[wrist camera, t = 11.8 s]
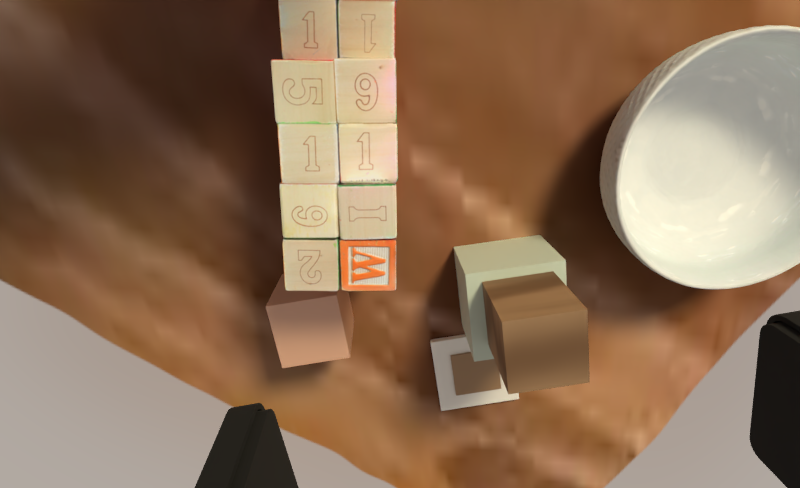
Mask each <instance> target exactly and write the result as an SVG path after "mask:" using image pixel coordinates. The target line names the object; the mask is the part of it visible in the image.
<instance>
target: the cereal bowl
mask: <svg viewBox="0 0 800 488" xmlns="http://www.w3.org/2000/svg"><path fill="white" fill-rule="evenodd" d="M600 190H601V191H600V192H601V197H602V200H603V206H604V208H605V211H606V214H607V218H608V219H609V221H610V223H611V226H612V227H613V229H614V230H615V233H616V234H617V236H618V237H619V239H620V240H621V241H622V243H623V244H624V245H625V246H626V247H627V248H628V250H629V251H630V252H631V253H632V254H633V255H634V256H635V257H636V258H637V259H638V260H640V261H641V262H642V263H643V264H644V265H645V266H647V267H648V268H649V269H651V270H652V271H654V272H656V273H657V274H659V275H661V276H662V277H664V278H666V279H668V280H671V281H673V282H676V283H678V284H681V285H685V286H688V287H692V288H699V289H730V288H738V287H743V286H747V285H751V284H755V283H758V282H761V281H764V280H767V279H769V278H772V277H774V276H776V275H779V274H781V273H783V272H785V271H786V270H788V269H790V268H792V267H794V266H795V265H797V264H799V263H800V28H798V27H792V26H785V25H784V26H770V25H766V26H762V27H752V28H747V29H740V30H736V31H732V32H727V33H725V34H721V35H717V36H714V37H711V38H709V39H707V40H703V41H701V42H698V43H697V44H695V45H691V46H690V47H687V48H686V49H684V50H683V51H680V52H678V53H676V54H675V55H674V56H672V57H670V58H668V59H667V60H666V61H664V62H663V63H662V64H661V65H659V66H658V67H656V68H655V69H654V70H653V71H652V72H651V73H649V74H648V75H647V76H646V77H645V78H644V79H643V80H642V81H641V82H640V84H638V85H637V86H636V87H635V89H634V90H633V91H632V92H631V93H630V95H629V97H628V98H627V99H626V100H625V101H624V103H623V105H622V106H621V108H620V110H619V111H618V113H617V114H616V117H615V119H614V120H613V122H612V125H611V127H610V129H609V132H608V134H607V138H606V140H605V145H604V149H603V152H602V158H601V166H600Z"/></svg>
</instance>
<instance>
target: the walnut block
mask: <svg viewBox="0 0 800 488" xmlns="http://www.w3.org/2000/svg"><path fill="white" fill-rule="evenodd" d="M482 288H483V298H484V307H485V317H486V327H487V337H488V345H489V348H490V350H491V352H492V355H493V357H494V360H495V362H496V365H497V367H498V370H499V372H500V375H501V377H502V380H503V382H504V385H505V387H506V390H507V392H508V394H515V393H522V392H528V391H535V390H542V389H549V388H556V387H562V386H569V385H576V384H583V383H589V382H590V381H589V345H588V310H587V308H586V307H585V306H584V305H583V304H582V303H581V302H580V300H579V299H578V298H577V297H576V296H575V295H574V294H573V293H572V291H571V290H570V289H569V288H568V287H567V286H566V285H565V284H564V283H563V281H562V280H561V279H560V278H559V277H558V276H557V275H556V274H555V273H554V271H551V272H544V273H538V274H531V275H524V276H518V277H511V278H504V279H498V280H491V281H484V282H482Z"/></svg>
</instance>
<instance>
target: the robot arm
mask: <svg viewBox="0 0 800 488" xmlns="http://www.w3.org/2000/svg"><path fill="white" fill-rule="evenodd" d="M750 442H751V446H752V448H753V450H754V452H755V454H756V455H757V456H758V458H759V459H760V460H761V461H762V462H763V463H764V464H765V465H766V466H767V467H768V468H769V469H770V470H771V471H772V472H773V473H774V474H775V475H776V476H777V477H778V478H779V479H780V481H781V482H782V483H783V484H784V485H785V486H786V487H787V488H800V311H795V312H789V313H783V314H778V315H774V316H771V317H770V318H769V320H768V321H767V324H766V325H764V326H763V327H762V328H761V331H760V339H759V348H758V358H757V369H756V379H755V388H754V398H753V408H752V418H751V428H750ZM195 488H298V485H297V482H296V479H295V476H294V472H293V469H292V466H291V463H290V460H289V457H288V454H287V451H286V447H285V445H284V441H283V438H282V435H281V432H280V429H279V426H278V422H277V419H276V416H275V414H274V411H273V410H272V409H268V410H265V409H264V407H263V405H262V404H260V403H256V404H251V405H245V406H239V407H233V408H230V409H229V410H228V412H227V414H226V416H225V418H224V421H223V423H222V425H221V428H220V430H219V433H218V435H217V437H216V440H215V442H214V444H213V447H212V449H211V451H210V453H209V456H208V458H207V460H206V463H205V465H204V467H203V470H202V472H201V475H200V477H199V479H198V481H197V484H196V486H195Z"/></svg>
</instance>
